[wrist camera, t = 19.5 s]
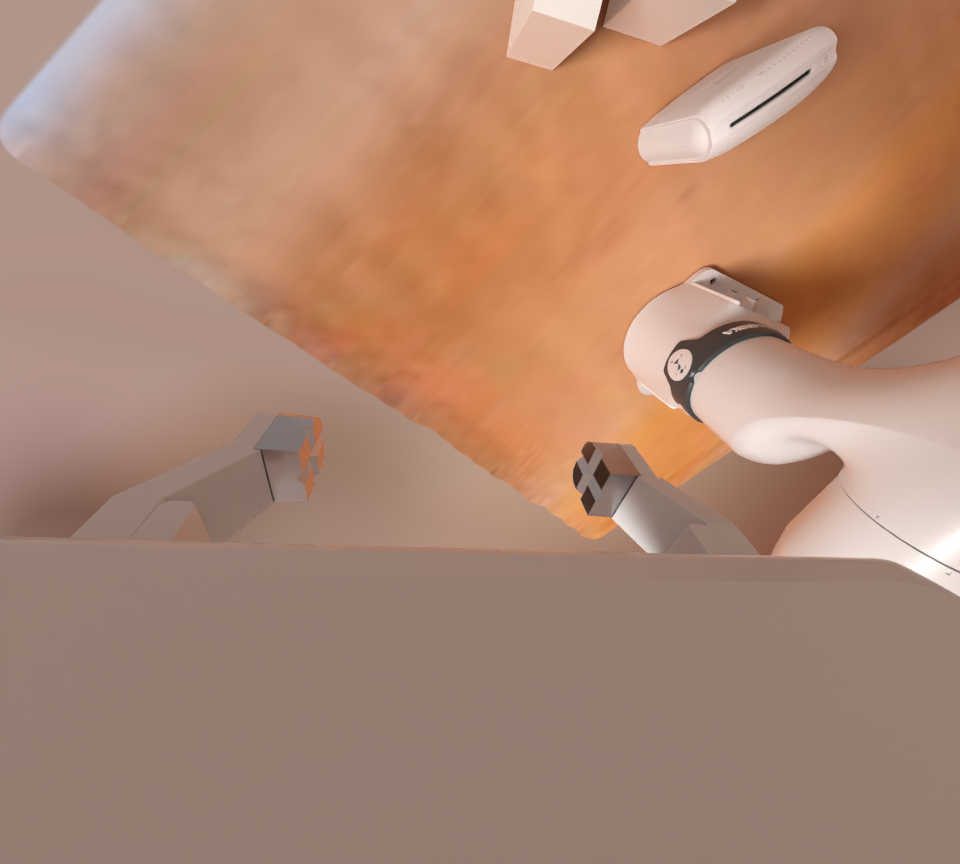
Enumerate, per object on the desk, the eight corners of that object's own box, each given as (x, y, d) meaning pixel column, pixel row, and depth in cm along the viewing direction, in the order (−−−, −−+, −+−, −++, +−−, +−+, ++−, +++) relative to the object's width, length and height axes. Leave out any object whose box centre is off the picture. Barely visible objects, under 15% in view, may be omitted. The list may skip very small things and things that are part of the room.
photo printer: (733, 52, 33) (860, -2, 23) (739, 104, 35) (856, 76, 25) (631, 128, 35) (705, 110, 25) (642, 172, 38) (714, 171, 28)
